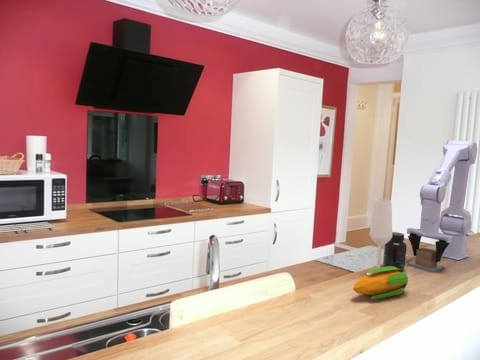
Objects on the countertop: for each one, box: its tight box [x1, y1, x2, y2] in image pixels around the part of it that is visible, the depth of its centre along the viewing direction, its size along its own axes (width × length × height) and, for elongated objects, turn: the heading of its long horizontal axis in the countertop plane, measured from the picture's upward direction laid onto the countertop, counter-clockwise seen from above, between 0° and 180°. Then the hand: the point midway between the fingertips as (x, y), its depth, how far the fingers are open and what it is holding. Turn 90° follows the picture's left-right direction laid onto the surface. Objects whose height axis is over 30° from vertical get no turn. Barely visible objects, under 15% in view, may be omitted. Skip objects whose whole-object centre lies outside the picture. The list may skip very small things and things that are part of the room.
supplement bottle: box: [382, 231, 407, 272], centre depth 128 cm, size 7×7×12 cm
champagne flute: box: [366, 198, 393, 276], centre depth 119 cm, size 7×7×24 cm
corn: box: [352, 266, 409, 300], centre depth 104 cm, size 7×8×20 cm
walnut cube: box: [415, 247, 438, 268], centre depth 131 cm, size 5×5×5 cm
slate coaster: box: [406, 259, 446, 273], centre depth 131 cm, size 8×9×1 cm
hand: (426, 258), depth 131 cm, fingers open, 7 cm apart
